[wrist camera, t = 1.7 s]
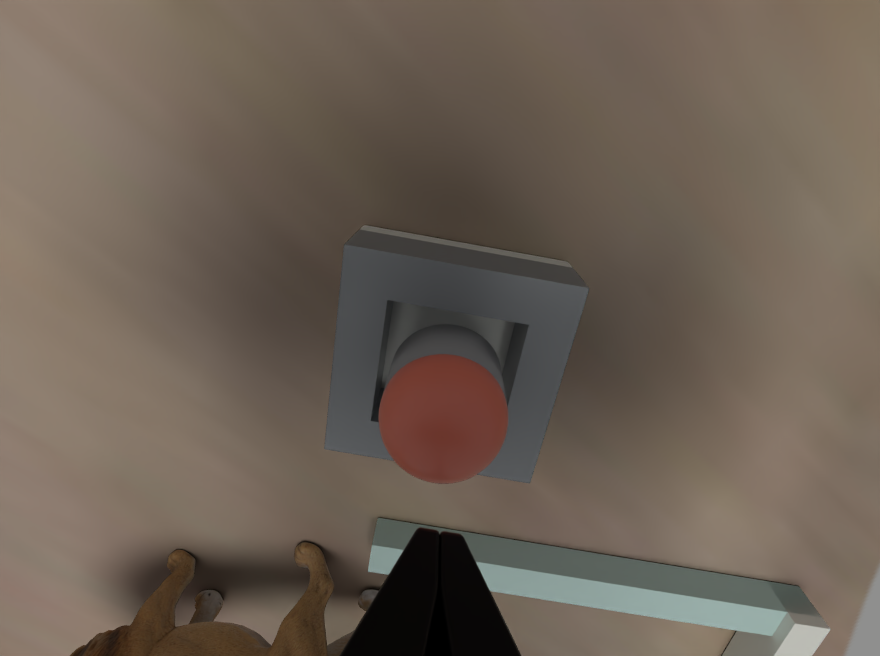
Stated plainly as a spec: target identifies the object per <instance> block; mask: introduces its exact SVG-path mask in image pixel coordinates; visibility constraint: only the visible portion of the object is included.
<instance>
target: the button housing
mask: <svg viewBox="0 0 880 656" xmlns="http://www.w3.org/2000/svg"><path fill="white" fill-rule="evenodd" d="M588 291H589V287H588V286H587V285H586V283H585V282H584V281H583V280H582V278H581V277H580V276H579V275H578V274H577V272H576V271H575V270H574V269H573V267H572V266H571V265H570V264H569V262H567V261H562V260H556V259H551V258H545V257H540V256H534V255H529V254H523V253H517V252H512V251H506V250H501V249H495V248H490V247H484V246H479V245H473V244H468V243H462V242H456V241H451V240H445V239H440V238H434V237H429V236H423V235H418V234H412V233H406V232H401V231H395V230H390V229H384V228H379V227H373V226H368V225H363V226H362V227H361V228H360V229H359V230H358V231H357V232H356V233H355V234H354V235H353V236H352V237H351V238H350V239H349V240H348V241H347V242H346V243H345V244H344V251H343V262H342V272H341V282H340V292H339V303H338V313H337V323H336V334H335V344H334V354H333V365H332V375H331V385H330V396H329V406H328V416H327V427H326V437H325V447H324V449H327V450H333V451H339V452H345V453H351V454H357V455H363V456H369V457H375V458H381V459H387V460H393V458H392V457H391V456H390V454H389V453H388V451H387V449H386V447H385V445H384V443H383V440H382V437H381V433H380V429H379V407H380V402H381V398H382V395H383V391H384V388H385V384H386V381H387V378H388V374H389V371H390V368H391V364H392V361H393V358H394V355H395V353H396V351H397V349H398V348H399V346H400V345H401V344H402V343H403V342H404V341H405V340H406V339H407V338H408V337H409V336H410V335H412V334H413V333H415V332H416V331H418V330H420V329H423V328H425V327H429V326H432V325H439V324H451V325H458V326H462V327H465V328H468V329H471V330H472V331H474V332H476V333H478V334H479V335H481V336H482V337H483V338H484V339H486V340H487V341H488V342H489V344H490V345H491V346H492V347H493V349H494V350H495V352H496V354H497V356H498V358H499V362H500V365H501V371H502V377H503V383H504V389H505V395H506V402H507V408H508V428H507V433H506V437H505V440H504V443H503V445H502V447H501V449H500V451H499V453H498V454H497V456H496V457H495V458H494V460H493V461H492V462H491V463H490V464H489V465H488V466H487V467H486V468H485V469H484V470H482V471H481V472H480V473H478V474H477V475H483V476H489V477H495V478H501V479H507V480H513V481H519V482H525V483H530V482H531V478H532V475H533V472H534V468H535V465H536V462H537V459H538V455H539V452H540V449H541V446H542V442H543V439H544V436H545V432H546V429H547V426H548V423H549V419H550V416H551V413H552V409H553V406H554V403H555V400H556V396H557V393H558V390H559V387H560V383H561V380H562V377H563V373H564V370H565V367H566V364H567V360H568V357H569V354H570V350H571V347H572V344H573V341H574V337H575V334H576V331H577V328H578V324H579V321H580V318H581V314H582V311H583V308H584V305H585V301H586V298H587V295H588ZM393 461H394V460H393Z"/></svg>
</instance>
